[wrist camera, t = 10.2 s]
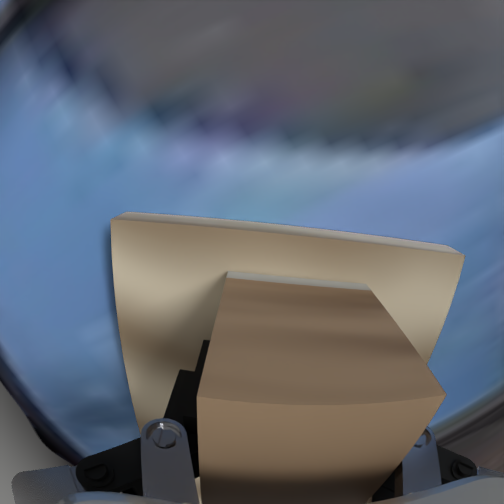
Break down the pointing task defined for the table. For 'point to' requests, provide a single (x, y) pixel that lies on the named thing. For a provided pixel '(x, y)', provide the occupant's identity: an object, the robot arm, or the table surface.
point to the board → (258, 262)
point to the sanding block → (307, 394)
